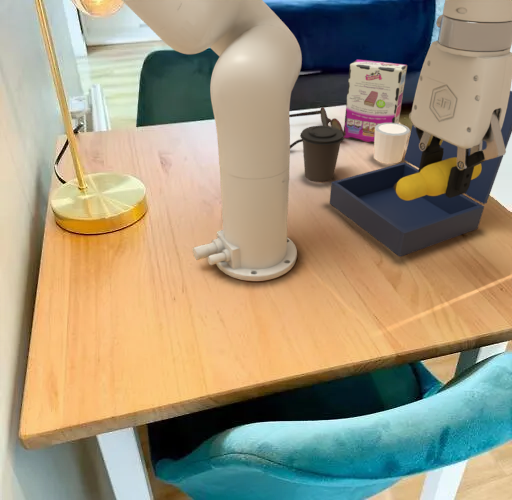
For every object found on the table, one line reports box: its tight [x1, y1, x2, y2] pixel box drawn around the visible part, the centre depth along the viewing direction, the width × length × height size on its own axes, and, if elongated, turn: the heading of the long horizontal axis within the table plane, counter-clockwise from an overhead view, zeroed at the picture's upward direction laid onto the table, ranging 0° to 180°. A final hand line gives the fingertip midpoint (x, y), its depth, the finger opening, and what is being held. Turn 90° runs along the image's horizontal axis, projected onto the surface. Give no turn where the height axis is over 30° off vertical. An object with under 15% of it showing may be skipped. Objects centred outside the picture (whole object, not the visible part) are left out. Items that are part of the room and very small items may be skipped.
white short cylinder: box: [373, 123, 411, 165], centre depth 103 cm, size 7×7×7 cm
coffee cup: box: [299, 125, 345, 183], centre depth 96 cm, size 8×8×10 cm
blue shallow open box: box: [329, 161, 485, 258], centre depth 85 cm, size 16×18×5 cm
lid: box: [403, 90, 512, 205], centre depth 82 cm, size 17×18×5 cm
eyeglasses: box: [289, 106, 346, 150], centre depth 114 cm, size 15×15×5 cm
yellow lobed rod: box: [394, 157, 482, 201], centre depth 64 cm, size 14×4×4 cm, turn 119°
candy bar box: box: [343, 59, 408, 144], centre depth 110 cm, size 11×5×16 cm, turn 62°
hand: (441, 185), depth 65 cm, fingers closed on yellow lobed rod, 4 cm apart
